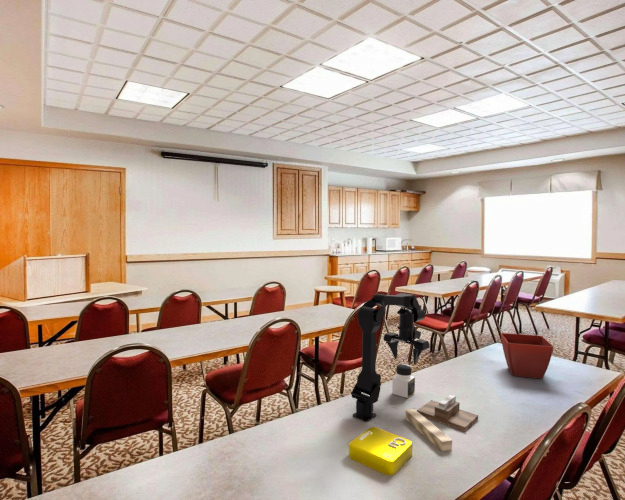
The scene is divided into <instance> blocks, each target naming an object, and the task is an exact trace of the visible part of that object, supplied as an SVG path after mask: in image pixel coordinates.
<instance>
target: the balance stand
mask: <svg viewBox="0 0 625 500" xmlns="http://www.w3.org/2000/svg"><path fill="white" fill-rule="evenodd" d="M456 398H457V396H456V395H454V394H449V395H448V396H446V397H445V398H444V399H442V400H441V401H435V400H433V399H432V400H430V401H428V402H426V403H425V404H423V405H422V406H420V407H419V408H418V409H416V411H417V412H419V413H420V414H421V415H422V416H423V417H425V418H426V419H429V420H431V421H435V422H437V423H441V424H443V425H445V426H449V427H452V428H453V429H457V430H460V431H463V432H467V431H468V429H470V428H471V427H472V426H473V425H474V424H475V423H476V422H477V421H478V420H479V415H478V414H475V413H472V412H469V411H466V410H464V409H463V410H462V409H460V404H461V403H460V402H459V401H457V400H456Z"/></svg>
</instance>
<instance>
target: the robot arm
mask: <svg viewBox="0 0 625 500" xmlns="http://www.w3.org/2000/svg"><path fill="white" fill-rule="evenodd" d="M419 303H420V302H419V301H418V299H417V296H416V295H415V294H411V293H402V292H400V293H397V294H396V295H392V294H380V293H376V294H374V295H373V297H372V298H370V299H369V300H367V301H365V302H364V304H363V305H362V306H361V307H360V308H359V310H358V313H357V320H358V325H359V327H360V329H361V331H362V341H361V342H362V343H361V345H362V348H361V349H362V351H361V370H360V372H359V374H358V375H357V378H356V379H357V380H356V383H355V385H354V387H353V388H352V390H351V391H350V395H351V398H352V399H356V401H355V410H356V411H355V412H354V413H352V417H355V418H357V419H360V420H362V421H364V422H369V421H370V420H372V419H373V418H376V416H377V413H375V412H374V404H375V403H377V402H378V401H379V397H380V393H381V386H382V382H381V381H382V376H381V374H380V373H377V370H376V369H377V368H376V364H377V361H376V359H377V357H376V356H377V354H376V353H377V332H378V330H379V329H380V328H381V325H382V319H383V318H384V317H385V315H386V314H387V311H386V309H387V306H398V308H399V307H400V308H399V310H398V311H397V312H396V314H397V315H399V322H398V324H399V325H398V326H397V330H398V333H397V332H396V333H395V332H388V333H385V334H384V335H383V341H384V342H385V344H387V345H388V348H389V349H390V351H391V353H392V356H393V358H394V359H395V360H396V359H397V360H398V346H399V342H400V343H404V344H408V345H412V346H413V349H412V358H413V359H412V360H413V364H414V365H417V363H418V360H419V359H420V355H421V353H422V352H423V351H425V350H428V349H429V348H430V342H429V340H427V339H421V335H422V332H421V331H419V330H416V326H415V325H414V324H415V323H417V322H420V321H423V320H424V319H425V317H426V313H425V310H424V309H423V308H422V305H421V304H419ZM377 305H379V306H380V307H379V309H378V308H375V307H376V306H377Z"/></svg>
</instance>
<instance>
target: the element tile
mask: <svg viewBox="0 0 625 500" xmlns="http://www.w3.org/2000/svg"><path fill="white" fill-rule="evenodd" d="M412 457H413V441H412V440H410V439H408V438H406V437H403V436H400V435H397V434H396V433H392V432H390V431H388V430H384V429H382V428H380V427H377V426H376V427H375V426H371V427H369V428H368V429H366V430H364V431H363V432H362V433H361V434H359V435H358V436H357V437H355V438H354V439H352V440H350V442H349V444H348V458H349V459H350V460H353V461H355V463H359V464H361V465H363V466H366V467H368V468H370V469H372V470H374V471H376V472H378V473H380V474H382V475H384V476H385V475H386V476H393V475H395V474H396V473H397V472H398V471H399V470H400V469H401V468H402V467H403V466H404V465H405V464H406V463H408V461H409V460H410V459H411V458H412Z"/></svg>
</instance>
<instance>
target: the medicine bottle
mask: <svg viewBox="0 0 625 500" xmlns="http://www.w3.org/2000/svg"><path fill="white" fill-rule="evenodd" d="M391 380H392V385H391V386H392V387H391V390H392V391H391V392H392V395H395V396H399V397H401V398H406V399H409V398H410V397H411V396H412V395H414V394H415V391H416V389H415V388H416V387H415V385H416V384H415V383H416V376H415V375H412V367H411V365H409V364H406V363H400V364H397V365H396V375H394V376H393V377H392V379H391Z"/></svg>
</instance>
